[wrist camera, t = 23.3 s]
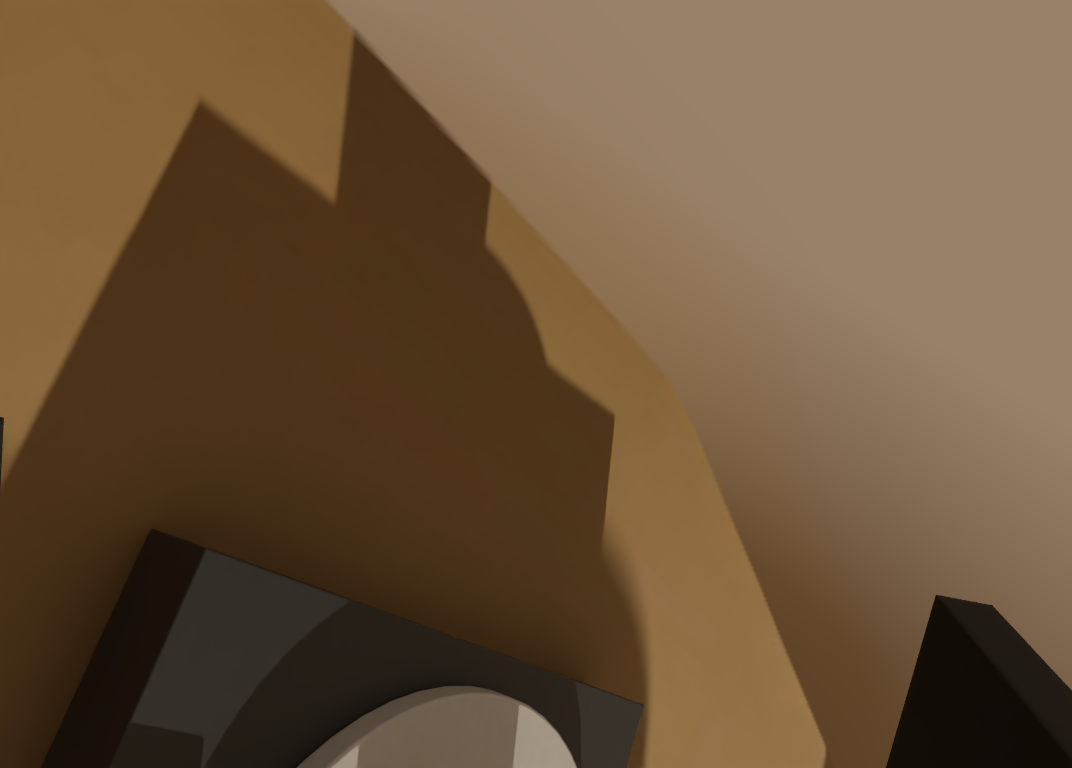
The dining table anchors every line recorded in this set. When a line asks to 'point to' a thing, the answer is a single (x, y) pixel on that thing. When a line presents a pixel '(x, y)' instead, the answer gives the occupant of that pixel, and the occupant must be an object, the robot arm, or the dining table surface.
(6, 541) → the dining table surface
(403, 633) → the kitchen scale
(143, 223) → the dining table surface
